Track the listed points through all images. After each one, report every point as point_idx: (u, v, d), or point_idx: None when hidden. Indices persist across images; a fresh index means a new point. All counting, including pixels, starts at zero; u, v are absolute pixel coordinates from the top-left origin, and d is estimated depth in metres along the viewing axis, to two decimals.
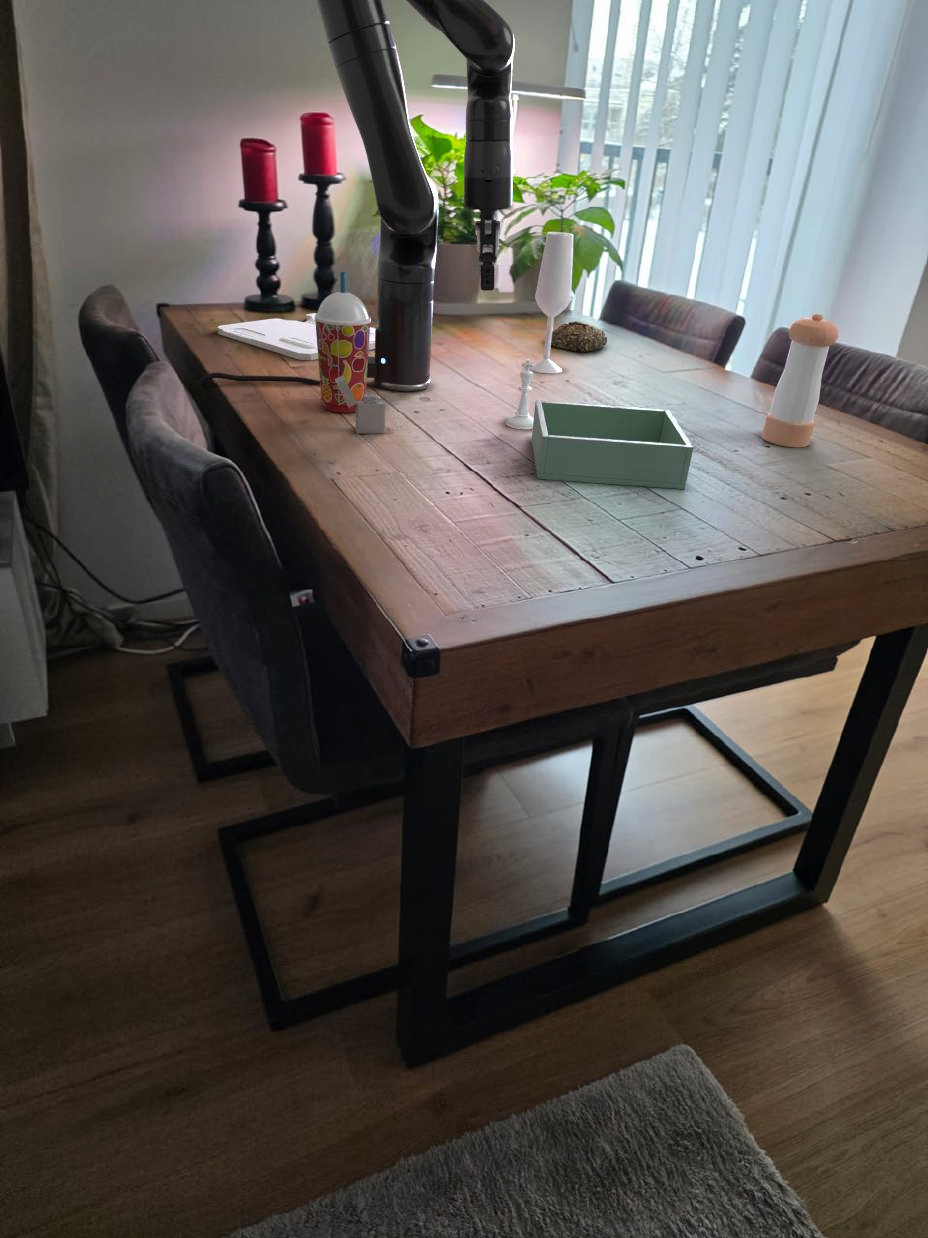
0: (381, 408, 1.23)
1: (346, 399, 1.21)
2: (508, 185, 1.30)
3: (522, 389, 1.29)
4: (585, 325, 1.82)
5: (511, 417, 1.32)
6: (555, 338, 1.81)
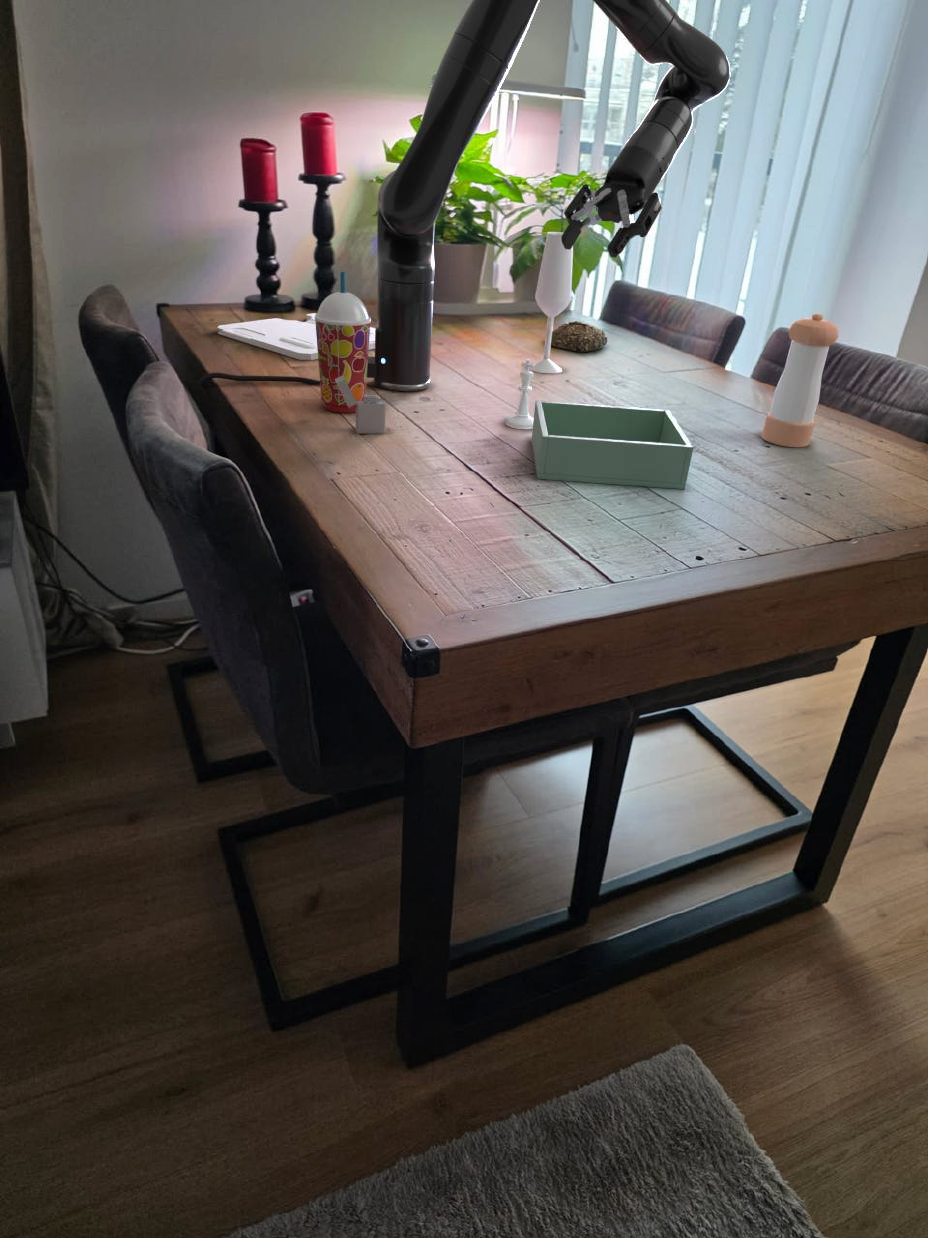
0: (381, 408, 1.23)
1: (346, 399, 1.21)
2: None
3: (522, 389, 1.29)
4: (585, 325, 1.82)
5: (511, 417, 1.32)
6: (555, 338, 1.81)
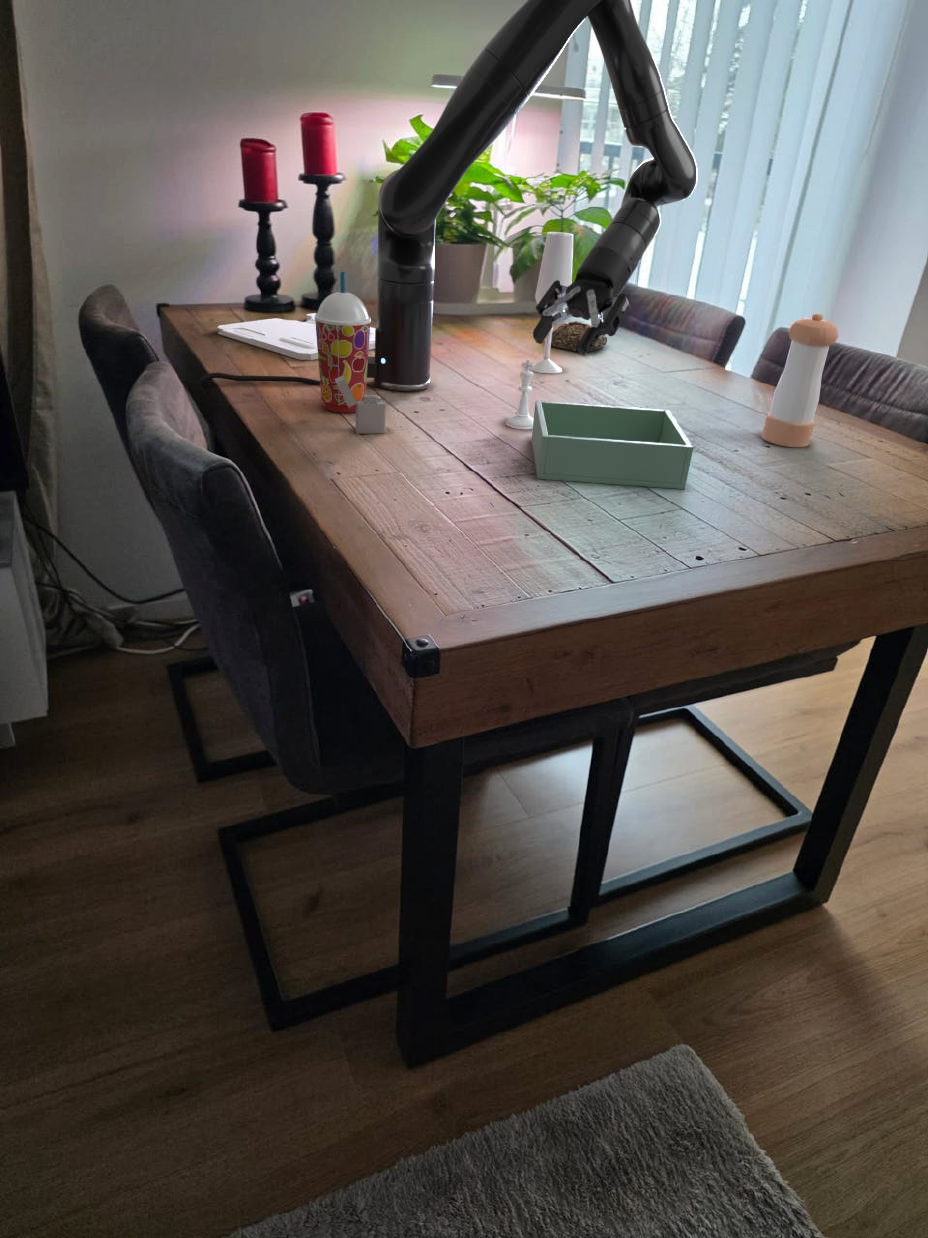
0: (381, 408, 1.23)
1: (346, 399, 1.21)
2: None
3: (522, 389, 1.29)
4: (585, 325, 1.82)
5: (511, 417, 1.32)
6: (555, 338, 1.81)
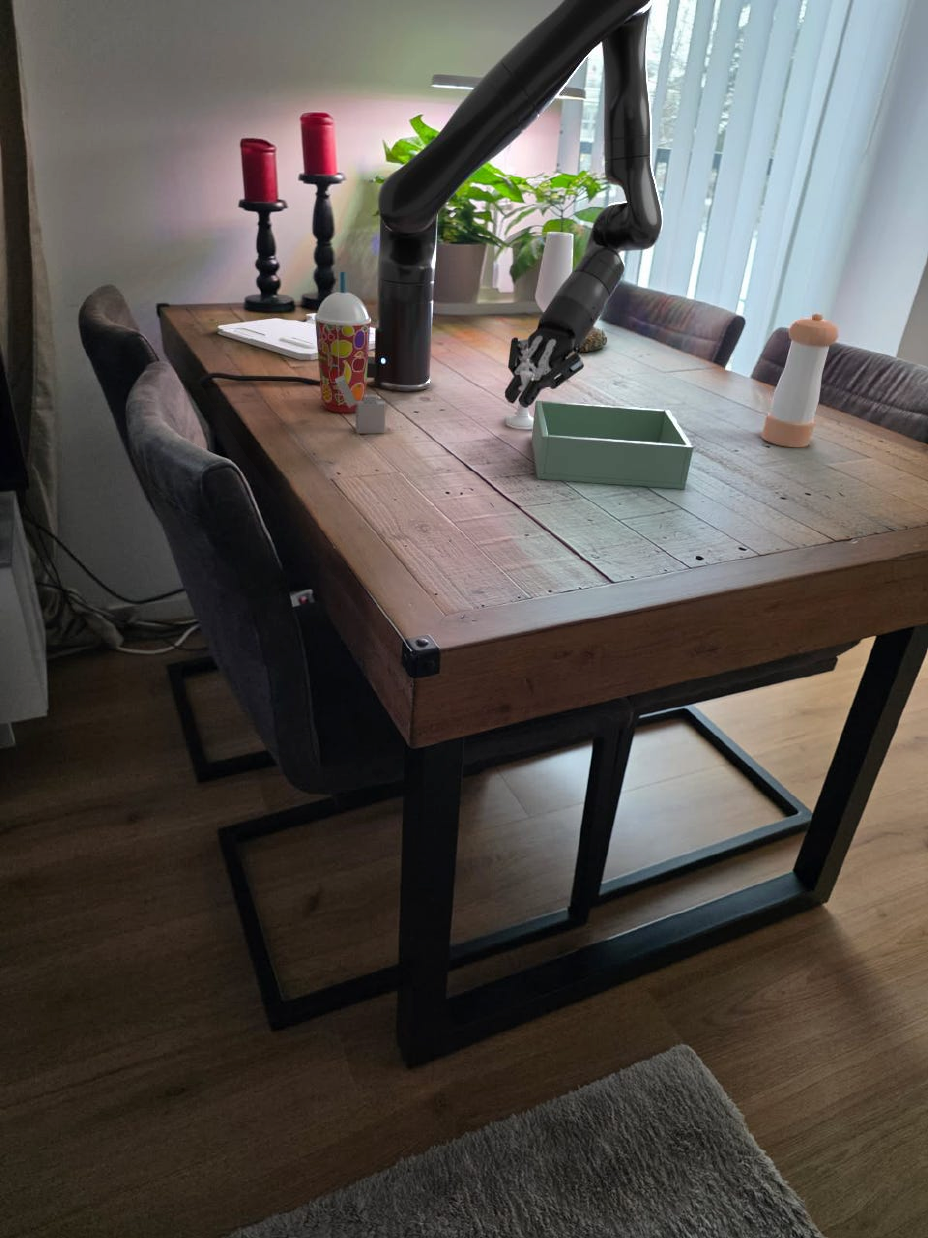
0: (381, 408, 1.23)
1: (346, 399, 1.21)
2: None
3: (522, 389, 1.29)
4: None
5: (511, 417, 1.32)
6: None
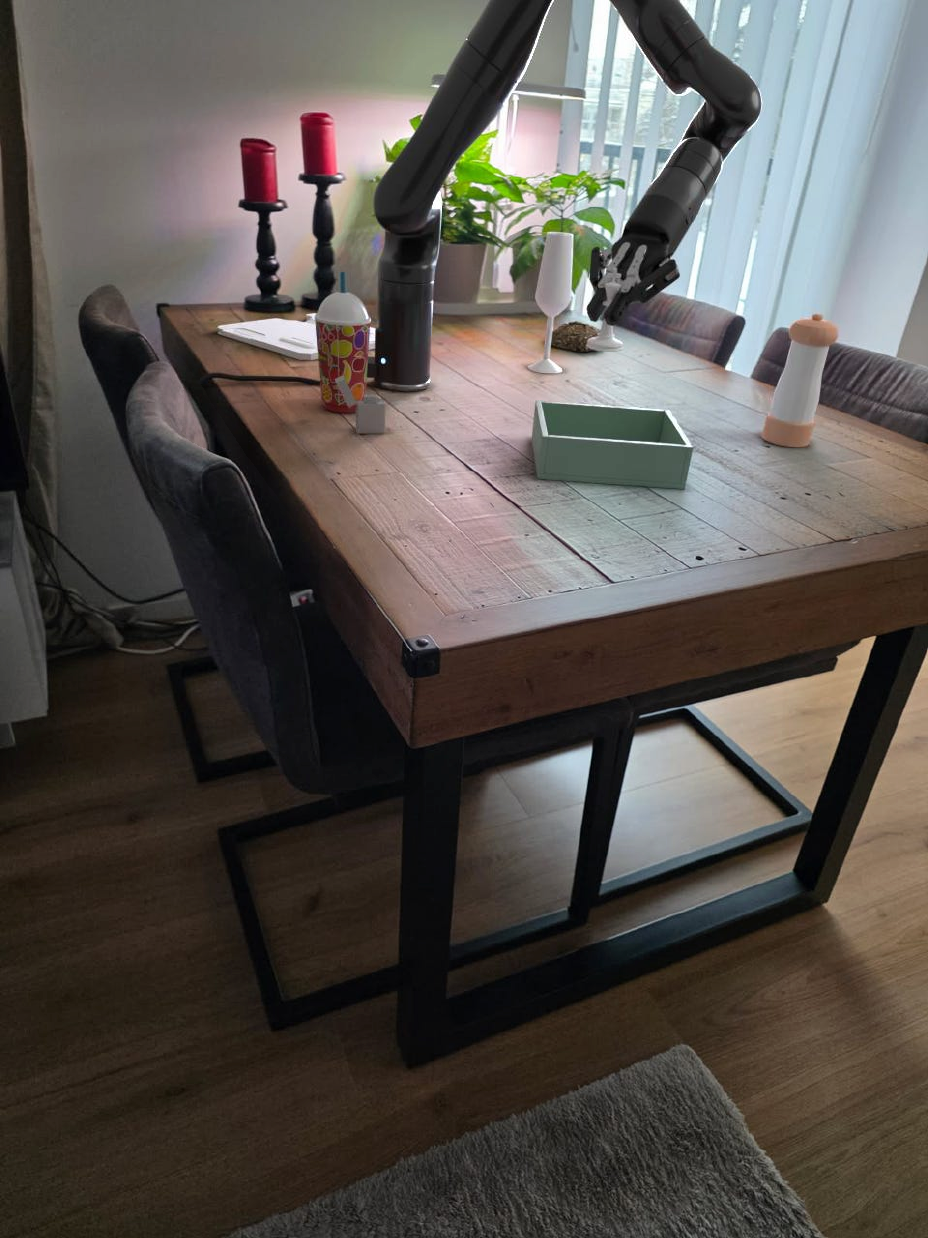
0: (381, 408, 1.23)
1: (346, 399, 1.21)
2: None
3: (607, 304, 1.11)
4: (585, 325, 1.82)
5: (593, 338, 1.14)
6: (555, 338, 1.81)
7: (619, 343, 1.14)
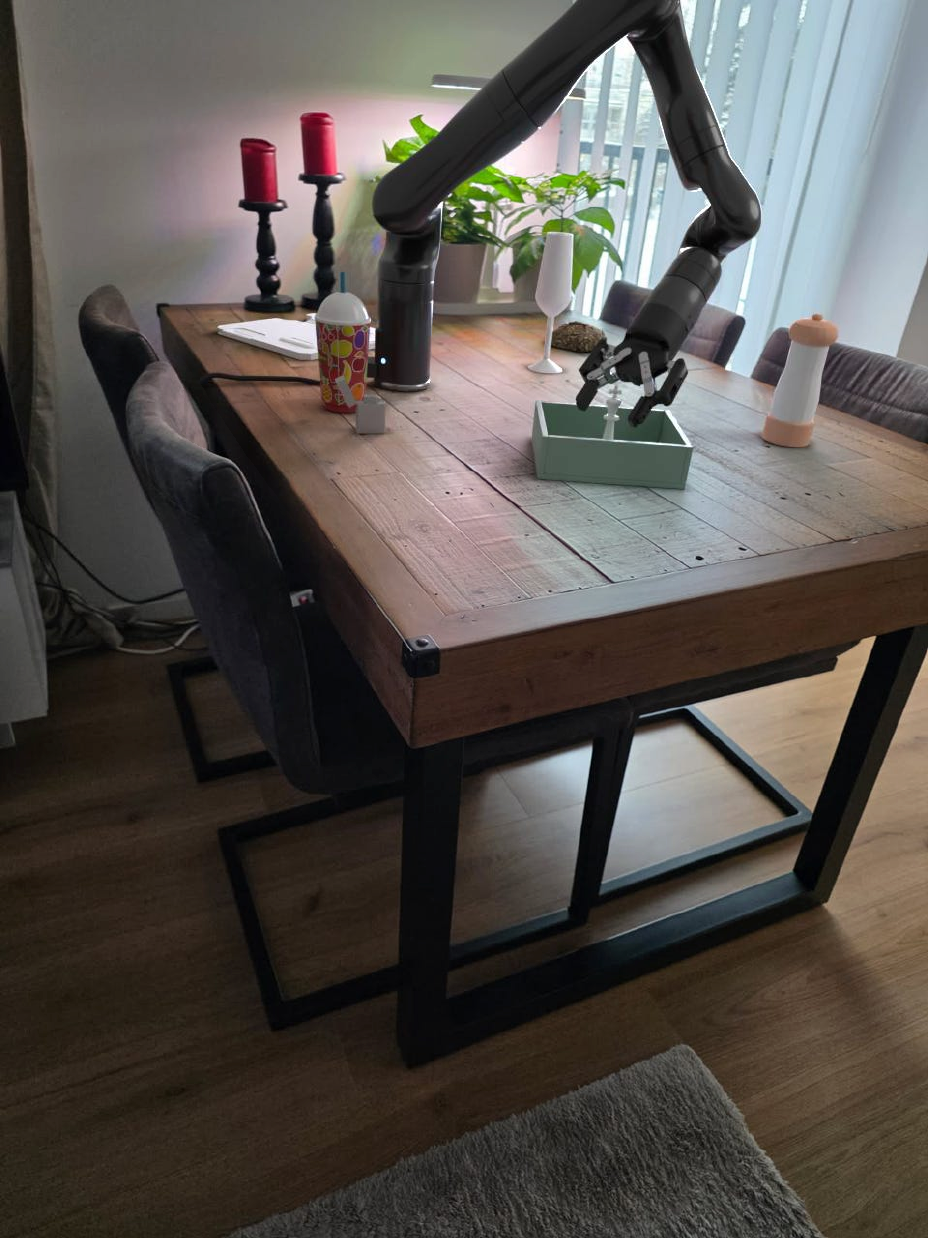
0: (381, 408, 1.23)
1: (346, 399, 1.21)
2: None
3: (608, 418, 1.16)
4: (585, 325, 1.82)
5: None
6: (555, 338, 1.81)
7: None
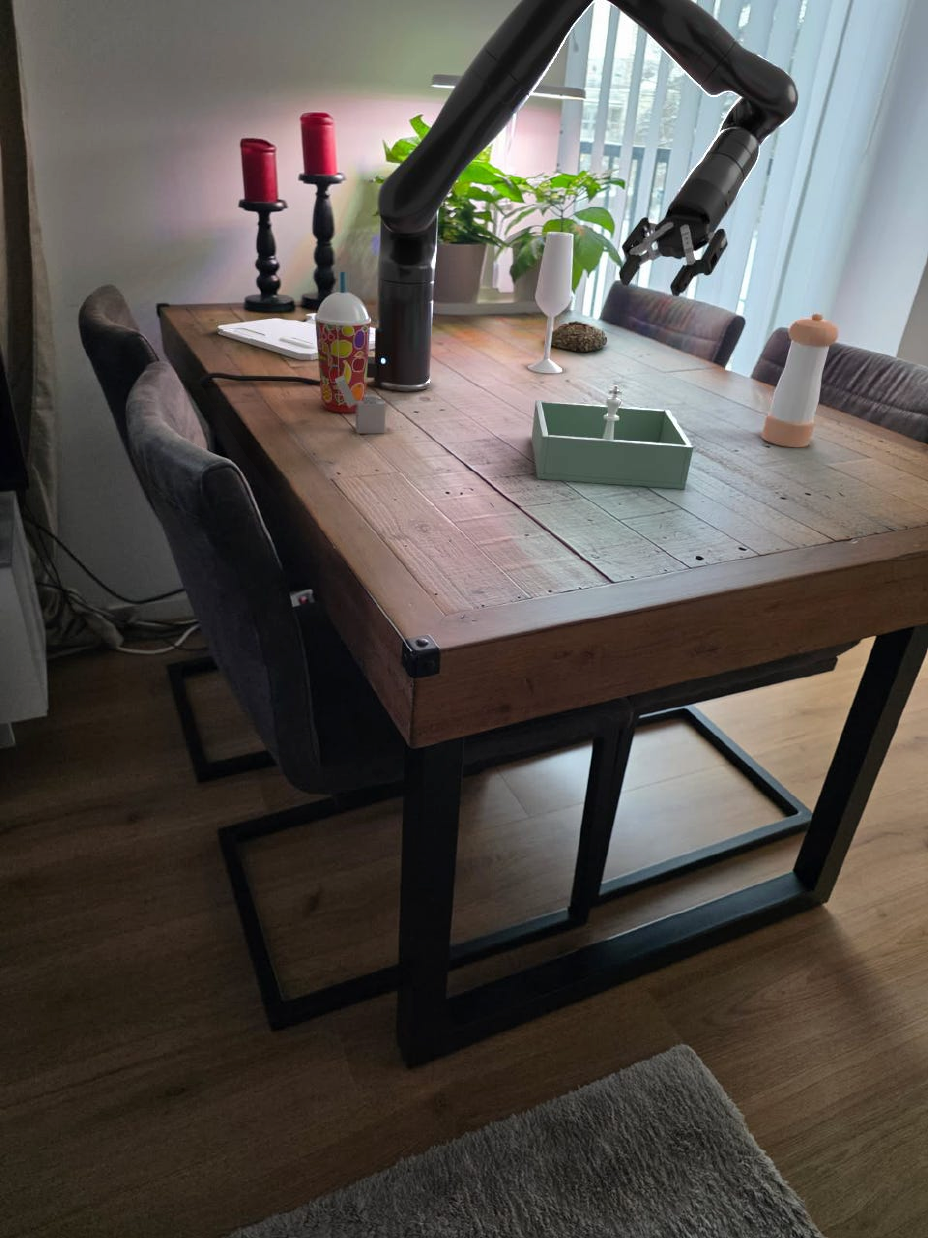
0: (381, 408, 1.23)
1: (346, 399, 1.21)
2: None
3: (608, 418, 1.16)
4: (585, 325, 1.82)
5: None
6: (555, 338, 1.81)
7: None
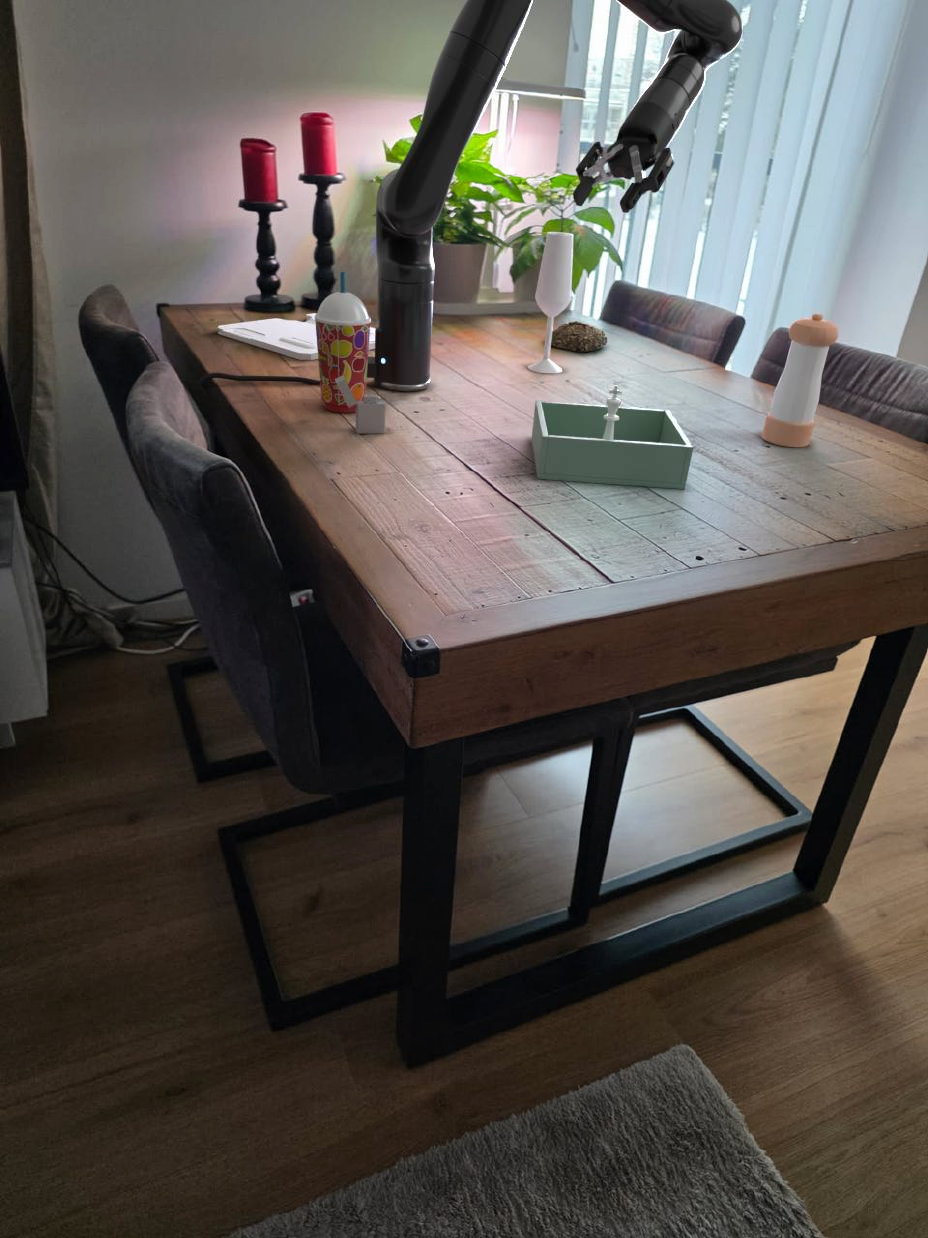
0: (381, 408, 1.23)
1: (346, 399, 1.21)
2: None
3: (608, 418, 1.16)
4: (585, 325, 1.82)
5: None
6: (555, 338, 1.81)
7: None
